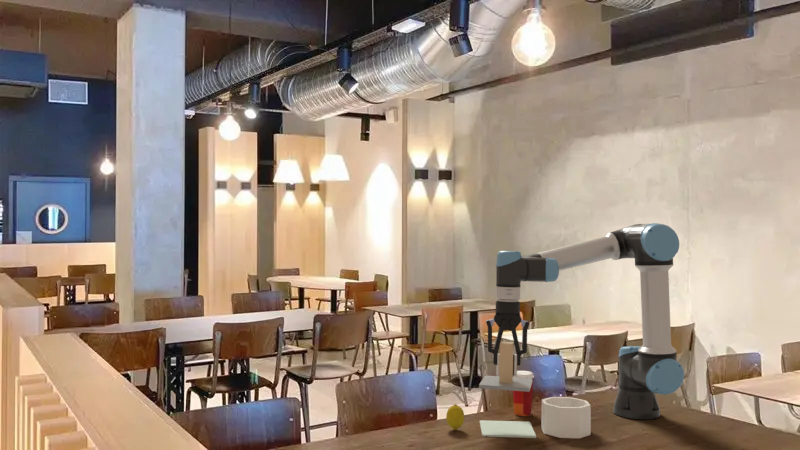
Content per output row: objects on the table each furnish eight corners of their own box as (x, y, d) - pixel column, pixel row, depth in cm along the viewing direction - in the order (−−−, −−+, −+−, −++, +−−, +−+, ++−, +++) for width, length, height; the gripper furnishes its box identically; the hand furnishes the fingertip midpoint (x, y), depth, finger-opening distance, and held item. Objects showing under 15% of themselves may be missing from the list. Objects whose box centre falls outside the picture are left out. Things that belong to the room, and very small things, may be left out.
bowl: (584, 425, 221) (584, 397, 222) (593, 438, 207) (593, 408, 208) (539, 424, 222) (539, 396, 222) (545, 437, 208) (546, 407, 208)
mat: (529, 423, 224) (529, 421, 224) (536, 438, 208) (536, 436, 208) (479, 422, 225) (479, 420, 225) (482, 436, 209) (482, 434, 209)
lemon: (452, 433, 211) (452, 407, 211) (442, 429, 216) (443, 403, 216) (467, 431, 214) (467, 405, 214) (458, 426, 219) (458, 401, 219)
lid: (532, 381, 221) (533, 340, 221) (529, 391, 206) (530, 347, 207) (485, 378, 225) (485, 338, 225) (478, 388, 210) (479, 344, 210)
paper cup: (533, 411, 239) (533, 370, 239) (535, 417, 231) (535, 375, 232) (509, 410, 240) (510, 369, 240) (511, 416, 232) (511, 374, 232)
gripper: (480, 300, 213) (478, 377, 213) (538, 302, 212) (536, 379, 212) (478, 298, 221) (477, 372, 221) (534, 300, 220) (533, 374, 219)
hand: (506, 375), depth 216 cm, fingers closed on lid, 4 cm apart
